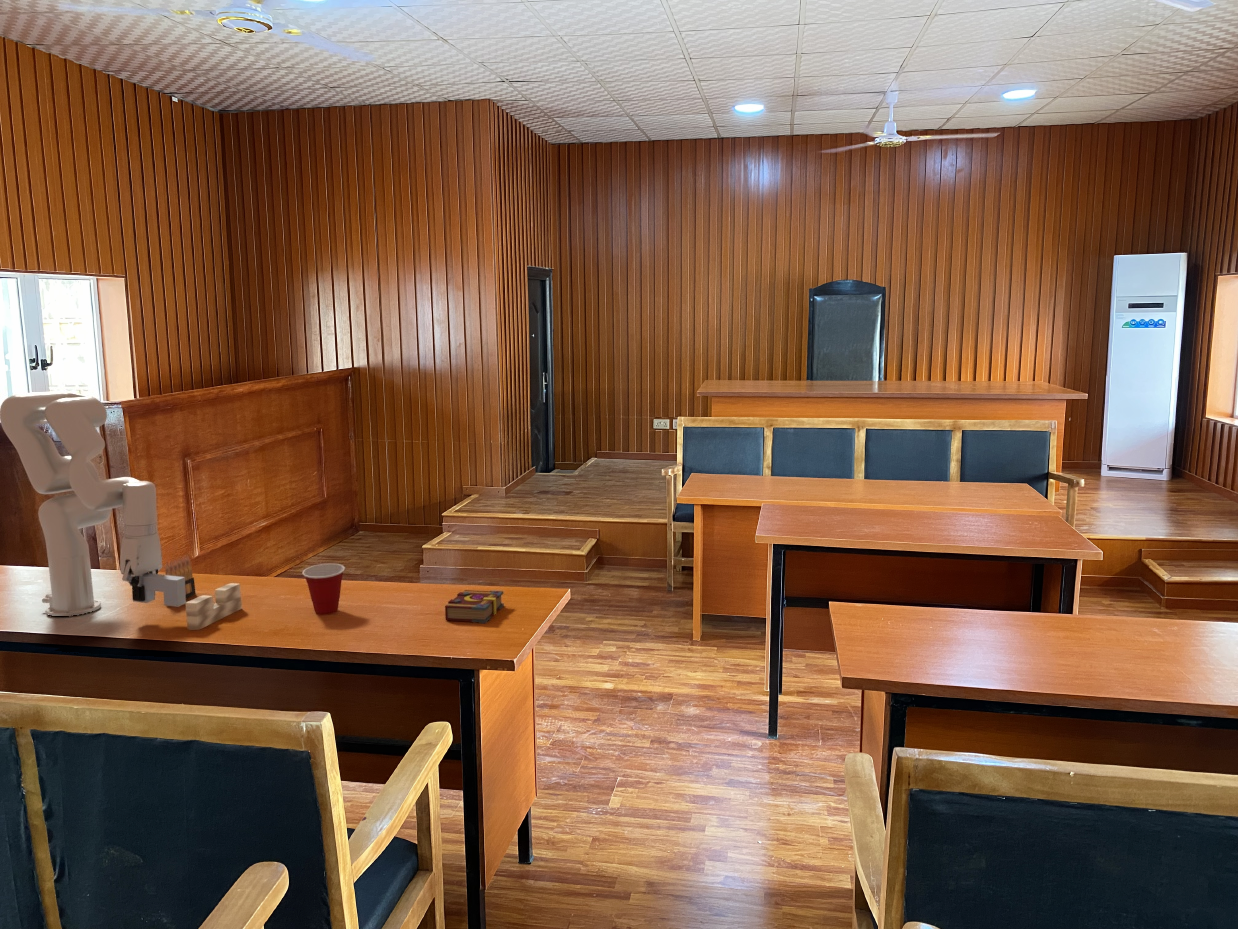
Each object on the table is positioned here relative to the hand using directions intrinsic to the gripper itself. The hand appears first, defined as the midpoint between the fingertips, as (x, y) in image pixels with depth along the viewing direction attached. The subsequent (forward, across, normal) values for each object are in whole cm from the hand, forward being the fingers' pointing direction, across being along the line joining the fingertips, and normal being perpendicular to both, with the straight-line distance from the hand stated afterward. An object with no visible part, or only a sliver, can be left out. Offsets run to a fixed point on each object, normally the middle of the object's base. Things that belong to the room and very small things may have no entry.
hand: (144, 597), depth 227 cm
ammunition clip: (+7, -19, -4) cm, 20 cm away
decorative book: (+2, -21, +83) cm, 86 cm away
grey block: (+1, 0, +4) cm, 5 cm away
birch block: (+5, -5, +17) cm, 19 cm away
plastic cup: (+4, -15, +43) cm, 46 cm away
